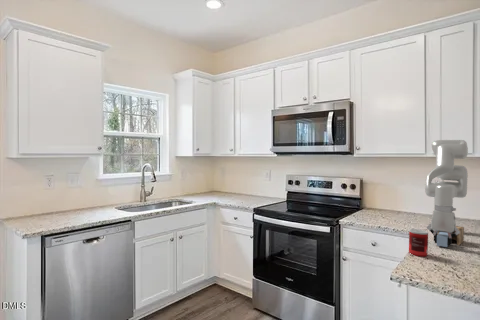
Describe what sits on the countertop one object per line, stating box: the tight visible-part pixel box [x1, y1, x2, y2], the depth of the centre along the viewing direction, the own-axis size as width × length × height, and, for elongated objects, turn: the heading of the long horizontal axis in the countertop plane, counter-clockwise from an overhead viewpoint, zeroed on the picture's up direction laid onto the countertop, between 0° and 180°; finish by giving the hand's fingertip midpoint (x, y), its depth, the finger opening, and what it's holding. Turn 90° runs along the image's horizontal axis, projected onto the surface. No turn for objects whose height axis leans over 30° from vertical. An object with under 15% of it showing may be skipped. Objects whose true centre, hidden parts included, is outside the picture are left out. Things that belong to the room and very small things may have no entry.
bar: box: [436, 232, 449, 248], centre depth 157 cm, size 12×4×5 cm, turn 139°
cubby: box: [437, 225, 465, 246], centre depth 166 cm, size 12×10×8 cm
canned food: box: [408, 228, 429, 258], centre depth 141 cm, size 8×8×11 cm
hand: (442, 243), depth 154 cm, fingers closed on bar, 4 cm apart
